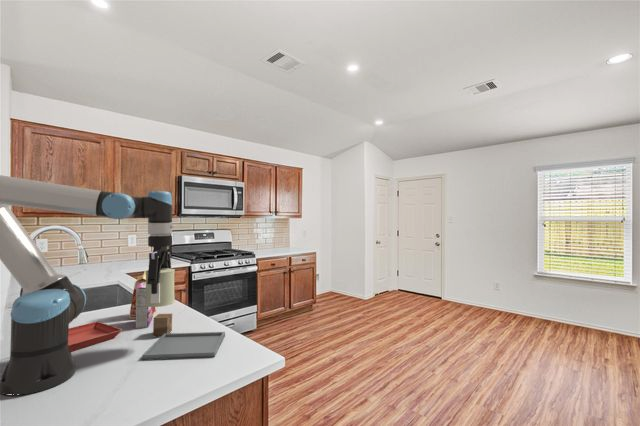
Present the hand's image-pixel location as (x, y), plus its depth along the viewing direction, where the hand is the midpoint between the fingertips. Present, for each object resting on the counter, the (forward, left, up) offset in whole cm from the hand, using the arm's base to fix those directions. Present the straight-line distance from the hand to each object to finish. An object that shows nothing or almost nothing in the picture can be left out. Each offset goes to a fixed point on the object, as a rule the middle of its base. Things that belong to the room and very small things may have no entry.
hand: (160, 299), depth 107 cm
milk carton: (+34, +20, -16) cm, 42 cm away
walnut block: (+11, +3, -16) cm, 20 cm away
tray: (-2, -10, -16) cm, 19 cm away
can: (0, 0, -2) cm, 2 cm away
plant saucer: (+7, +29, -17) cm, 34 cm away
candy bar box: (+23, +15, -16) cm, 32 cm away
